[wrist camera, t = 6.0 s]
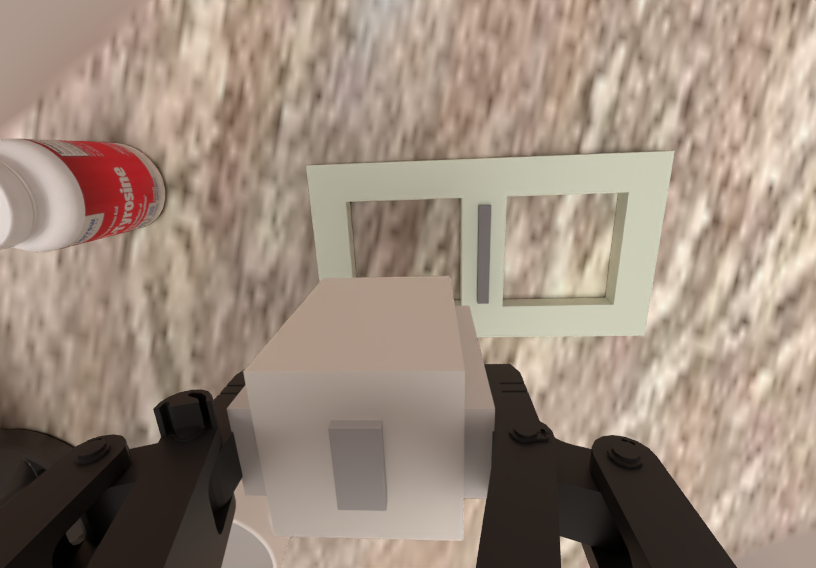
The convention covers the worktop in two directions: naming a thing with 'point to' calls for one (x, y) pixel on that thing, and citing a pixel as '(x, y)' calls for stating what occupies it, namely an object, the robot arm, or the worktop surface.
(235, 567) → the mug
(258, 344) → the worktop surface
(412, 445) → the block
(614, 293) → the faceplate
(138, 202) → the pill bottle
